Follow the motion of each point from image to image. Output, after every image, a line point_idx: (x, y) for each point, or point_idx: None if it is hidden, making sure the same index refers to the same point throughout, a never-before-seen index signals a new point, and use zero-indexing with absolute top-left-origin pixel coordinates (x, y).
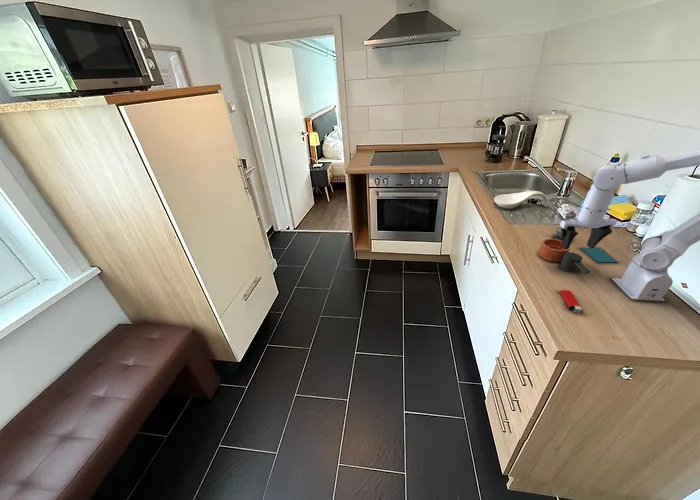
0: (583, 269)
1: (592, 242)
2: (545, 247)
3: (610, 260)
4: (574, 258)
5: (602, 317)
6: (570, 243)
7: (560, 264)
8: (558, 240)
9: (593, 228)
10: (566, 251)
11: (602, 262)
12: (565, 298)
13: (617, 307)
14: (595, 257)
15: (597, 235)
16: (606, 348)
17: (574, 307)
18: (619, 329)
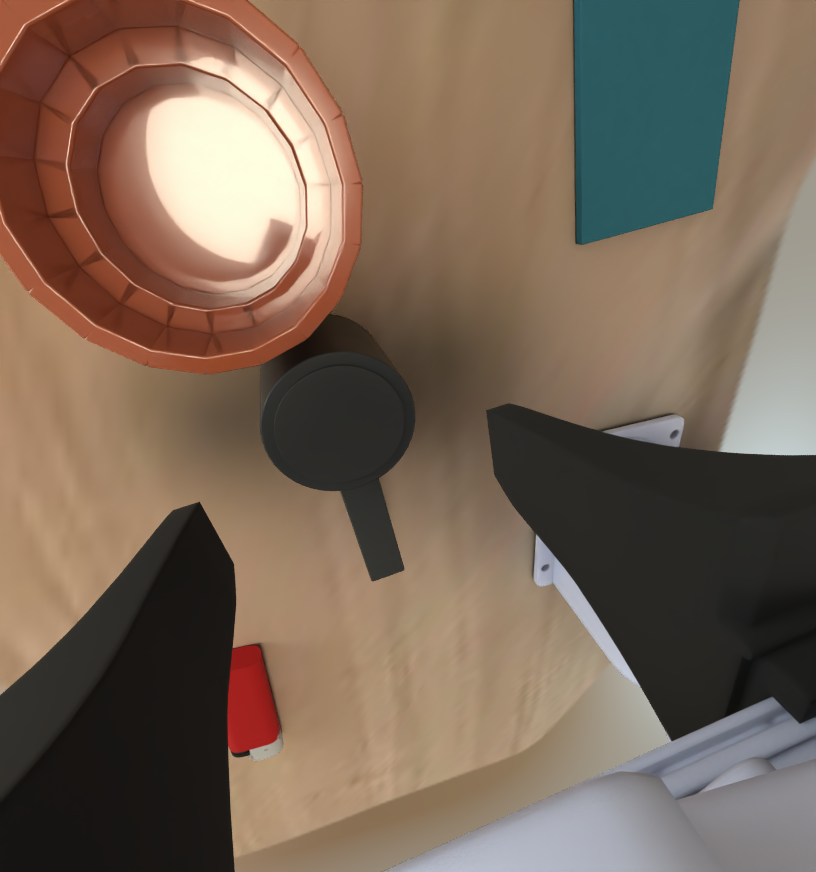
0: (365, 563)
1: (530, 500)
2: (36, 289)
3: (677, 197)
4: (336, 470)
5: (358, 717)
6: (224, 663)
7: (261, 369)
8: (240, 31)
9: (670, 541)
10: (296, 342)
11: (606, 237)
12: None
13: (445, 645)
14: (598, 162)
15: (611, 600)
16: (314, 822)
17: (248, 753)
18: (391, 743)
